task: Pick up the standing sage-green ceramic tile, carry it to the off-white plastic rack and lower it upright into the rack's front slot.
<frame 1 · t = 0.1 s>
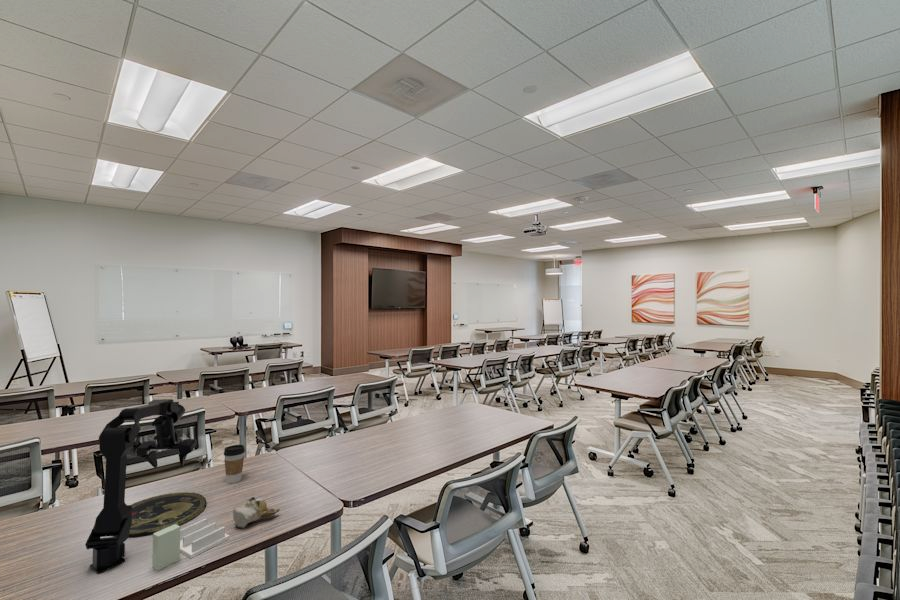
hand: (169, 466, 152), 15 cm above the table, fingers open, 9 cm apart
decorative plate: (159, 516, 146), on the table
coffee cup: (233, 480, 175), on the table
ceramic sculpture: (253, 521, 142), on the table
dish rack: (199, 542, 129), on the table
sage tile: (166, 563, 118), on the table
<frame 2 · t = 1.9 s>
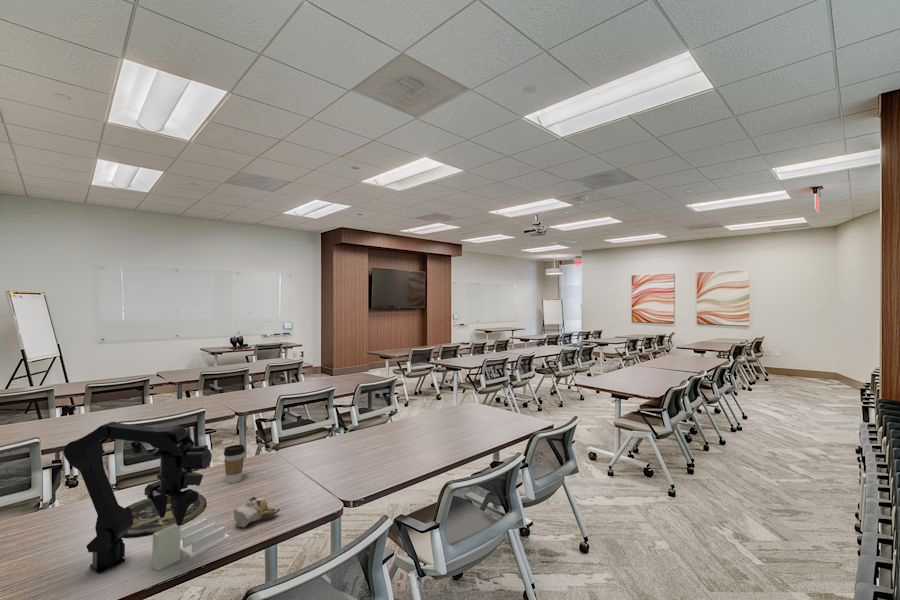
hand: (170, 521, 119), 12 cm above the table, fingers open, 9 cm apart
nothing on the table moved.
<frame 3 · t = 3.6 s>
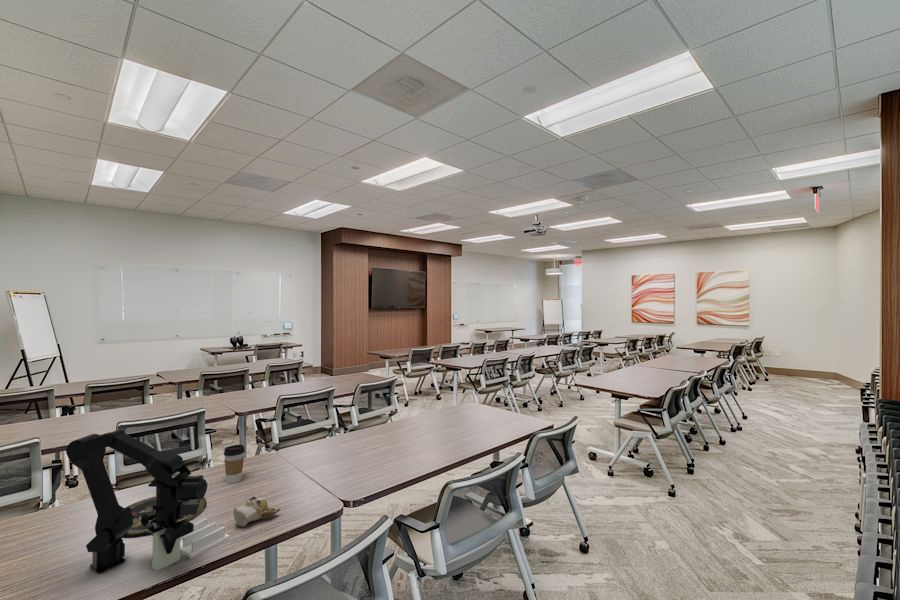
hand: (166, 551, 118), 4 cm above the table, fingers closed on sage tile, 3 cm apart
sage tile: (166, 563, 118), on the table, touching gripper
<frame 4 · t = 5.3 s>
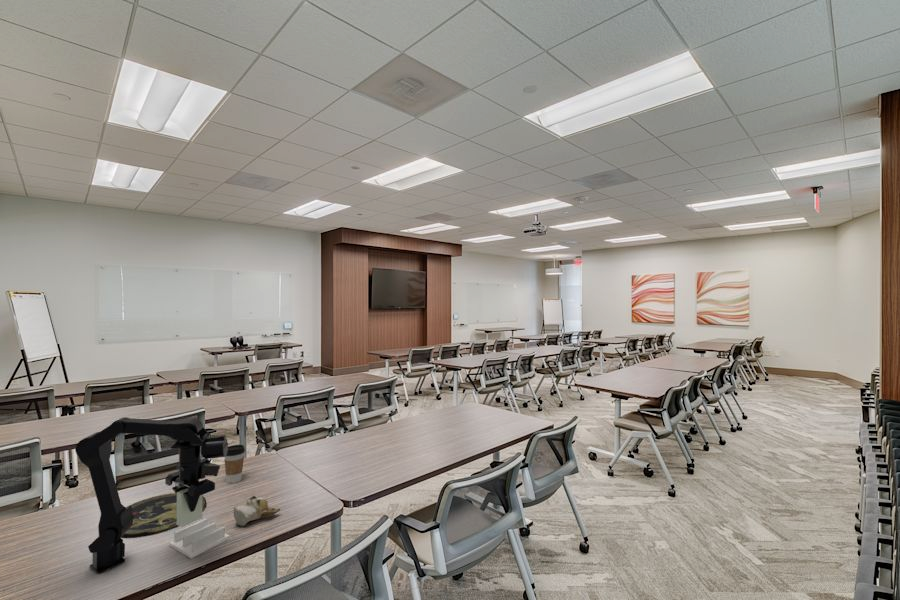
hand: (189, 509, 123), 13 cm above the table, fingers closed on sage tile, 3 cm apart
sage tile: (189, 521, 123), point 10 cm above the table, touching gripper
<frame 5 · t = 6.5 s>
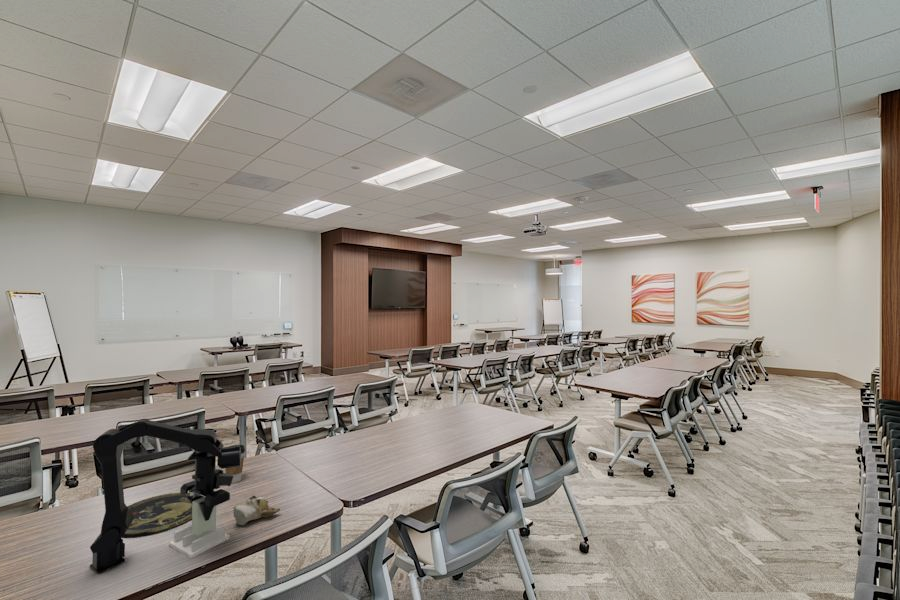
hand: (204, 518, 128), 8 cm above the table, fingers closed on sage tile, 3 cm apart
sage tile: (204, 529, 127), point 5 cm above the table, touching gripper
when the fingers open (5 cm above the table, at t = 7.2 s): sage tile stays where it is, resting on dish rack.
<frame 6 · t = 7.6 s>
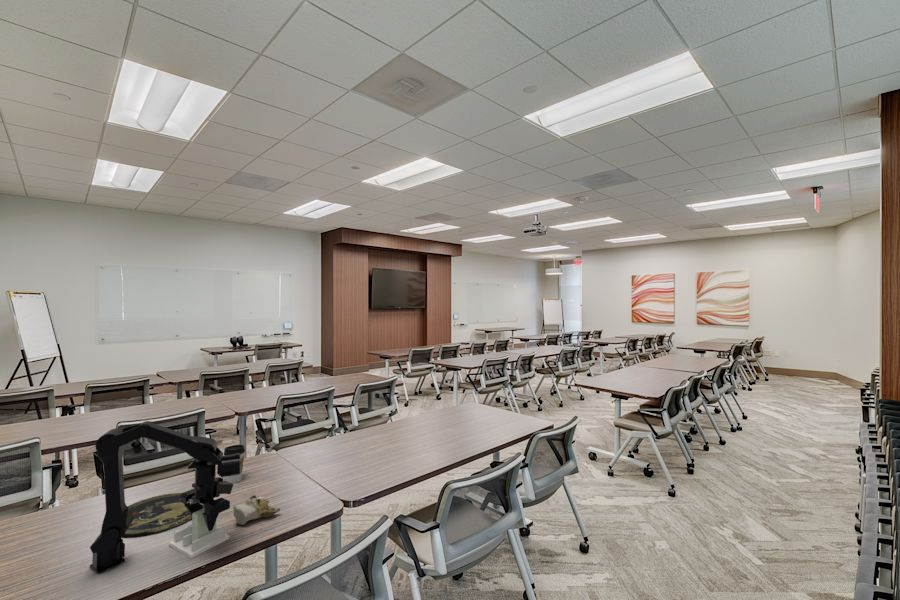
hand: (204, 527, 127), 5 cm above the table, fingers open, 7 cm apart
sage tile: (204, 541, 127), point 1 cm above the table, touching dish rack
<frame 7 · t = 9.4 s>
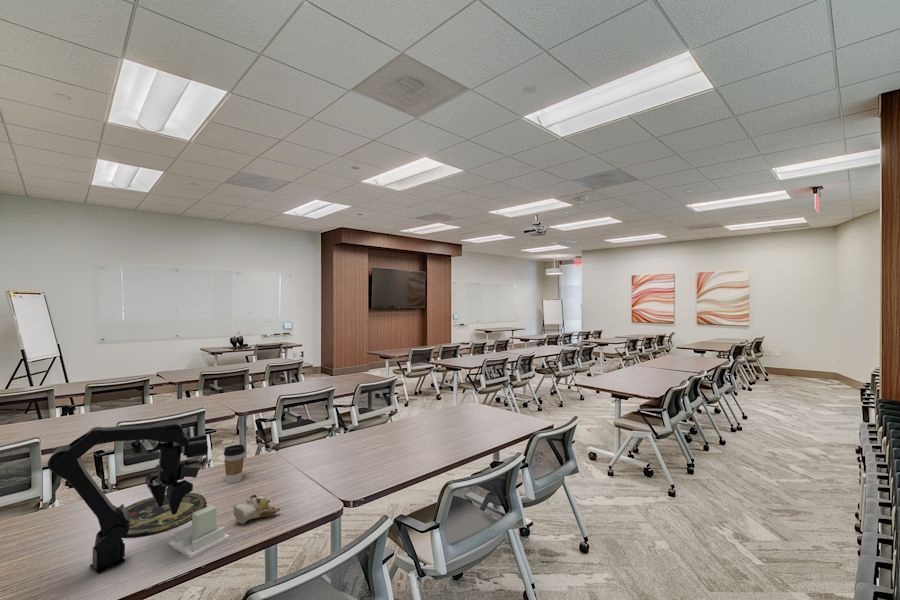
hand: (167, 510, 126), 12 cm above the table, fingers open, 9 cm apart
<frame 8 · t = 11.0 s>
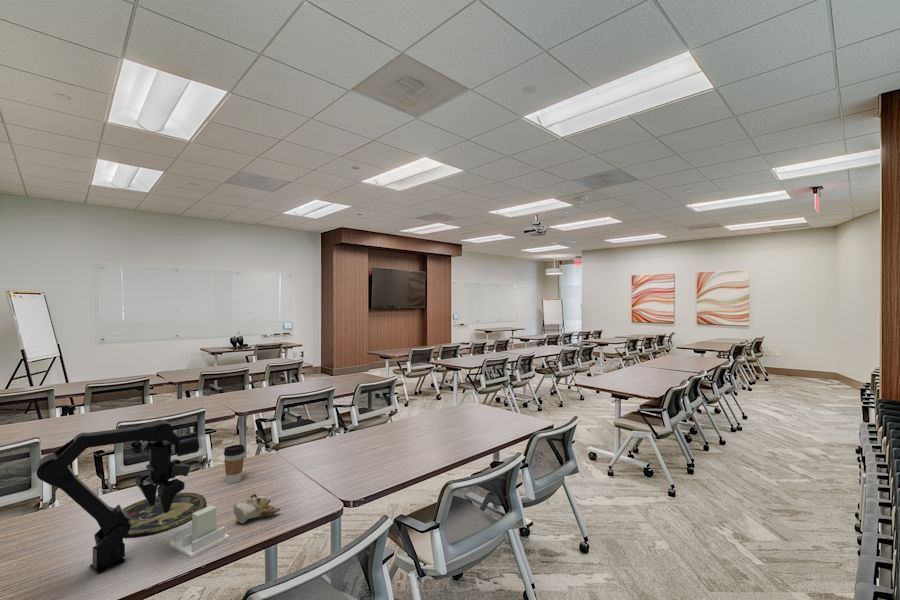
hand: (159, 508, 126), 12 cm above the table, fingers open, 9 cm apart
at the end: sage tile 0.0 cm from the target spot on the dish rack, point 1.0 cm above the dish rack's base; sage tile tilted 0°; the gripper is holding nothing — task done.
